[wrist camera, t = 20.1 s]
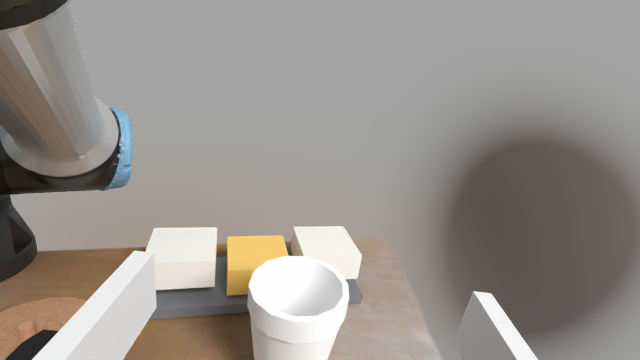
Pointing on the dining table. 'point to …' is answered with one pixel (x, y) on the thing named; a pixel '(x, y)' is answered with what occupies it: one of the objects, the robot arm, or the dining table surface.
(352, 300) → the keypad base
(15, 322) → the lidded jar
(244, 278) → the amber key
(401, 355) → the dining table surface
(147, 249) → the key
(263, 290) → the foam cup
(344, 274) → the key
